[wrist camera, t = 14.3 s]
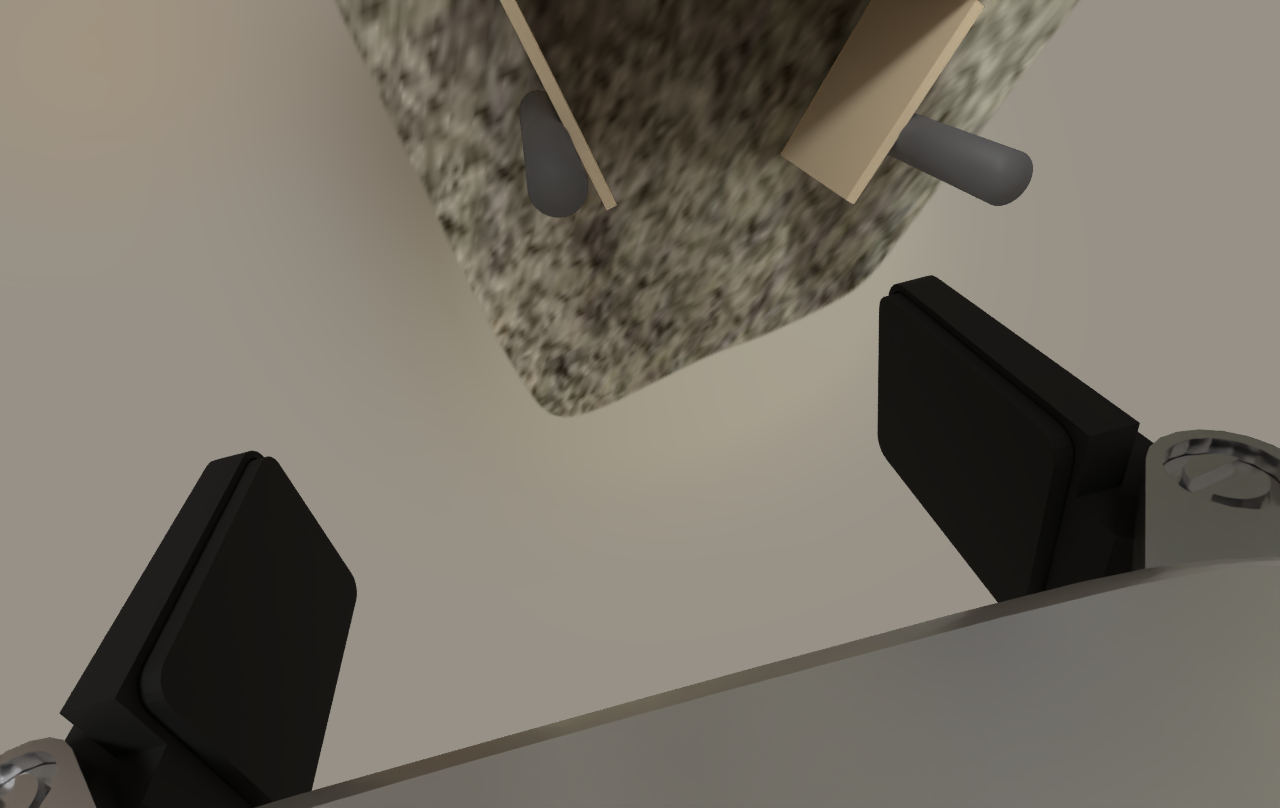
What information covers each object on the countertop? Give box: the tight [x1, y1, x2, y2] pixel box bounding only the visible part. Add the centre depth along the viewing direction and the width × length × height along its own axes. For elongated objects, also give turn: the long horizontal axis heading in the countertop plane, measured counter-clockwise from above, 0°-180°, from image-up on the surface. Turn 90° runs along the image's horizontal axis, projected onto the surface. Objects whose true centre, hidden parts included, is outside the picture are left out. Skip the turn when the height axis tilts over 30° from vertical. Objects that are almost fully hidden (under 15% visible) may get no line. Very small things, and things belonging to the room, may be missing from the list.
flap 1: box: [500, 0, 617, 217], centre depth 28 cm, size 2×9×16 cm, turn 25°
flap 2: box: [780, 0, 1033, 206], centre depth 31 cm, size 2×9×16 cm, turn 152°
